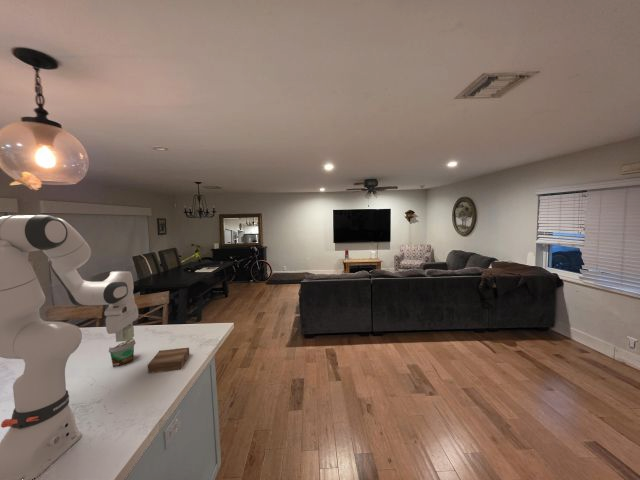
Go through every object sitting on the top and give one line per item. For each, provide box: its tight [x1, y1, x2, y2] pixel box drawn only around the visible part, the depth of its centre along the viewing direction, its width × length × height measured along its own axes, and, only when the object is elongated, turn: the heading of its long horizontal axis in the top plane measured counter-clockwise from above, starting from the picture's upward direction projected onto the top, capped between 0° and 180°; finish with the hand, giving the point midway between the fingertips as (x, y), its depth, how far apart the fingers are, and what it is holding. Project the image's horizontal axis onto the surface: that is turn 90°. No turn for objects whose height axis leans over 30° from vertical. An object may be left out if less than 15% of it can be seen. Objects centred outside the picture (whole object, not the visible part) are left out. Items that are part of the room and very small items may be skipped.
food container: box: [108, 337, 136, 368], centre depth 133 cm, size 12×6×10 cm, turn 168°
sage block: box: [115, 325, 135, 343], centre depth 121 cm, size 5×5×5 cm
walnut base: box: [147, 347, 190, 374], centre depth 130 cm, size 14×14×4 cm
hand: (125, 335), depth 121 cm, fingers closed on sage block, 5 cm apart
